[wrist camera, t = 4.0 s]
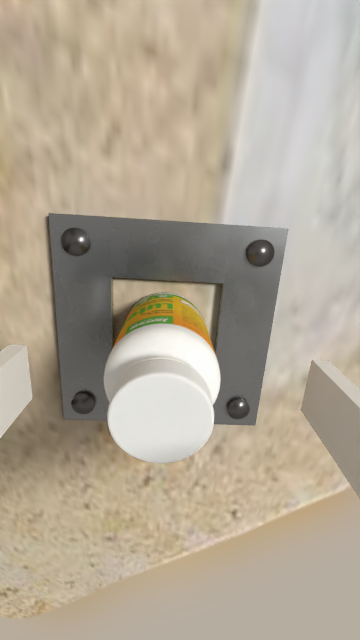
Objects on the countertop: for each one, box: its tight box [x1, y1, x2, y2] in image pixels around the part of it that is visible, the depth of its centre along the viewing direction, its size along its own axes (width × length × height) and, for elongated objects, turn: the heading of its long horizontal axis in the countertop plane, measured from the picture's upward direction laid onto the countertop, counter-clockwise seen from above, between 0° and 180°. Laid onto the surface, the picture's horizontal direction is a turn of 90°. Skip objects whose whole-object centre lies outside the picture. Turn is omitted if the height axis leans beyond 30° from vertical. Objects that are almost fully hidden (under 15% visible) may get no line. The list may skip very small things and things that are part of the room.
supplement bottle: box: [104, 293, 221, 463], centre depth 15 cm, size 5×5×10 cm
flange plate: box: [49, 213, 288, 425], centre depth 20 cm, size 14×14×1 cm
